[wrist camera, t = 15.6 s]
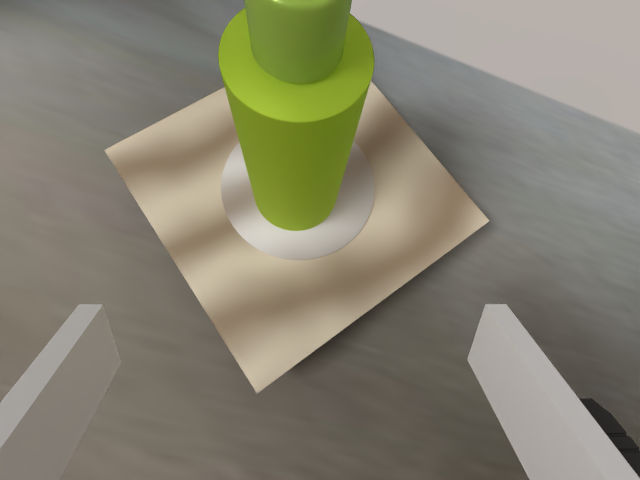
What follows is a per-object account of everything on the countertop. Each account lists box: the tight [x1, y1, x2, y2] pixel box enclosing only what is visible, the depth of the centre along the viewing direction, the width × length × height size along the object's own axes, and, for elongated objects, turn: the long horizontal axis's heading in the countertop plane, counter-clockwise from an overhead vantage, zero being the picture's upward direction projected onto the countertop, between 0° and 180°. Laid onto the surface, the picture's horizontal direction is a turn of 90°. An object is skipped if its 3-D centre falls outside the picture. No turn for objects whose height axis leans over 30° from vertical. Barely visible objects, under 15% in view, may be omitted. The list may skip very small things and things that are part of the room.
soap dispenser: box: [218, 0, 374, 231], centre depth 17 cm, size 6×7×20 cm
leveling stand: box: [105, 81, 489, 393], centre depth 29 cm, size 20×20×6 cm
